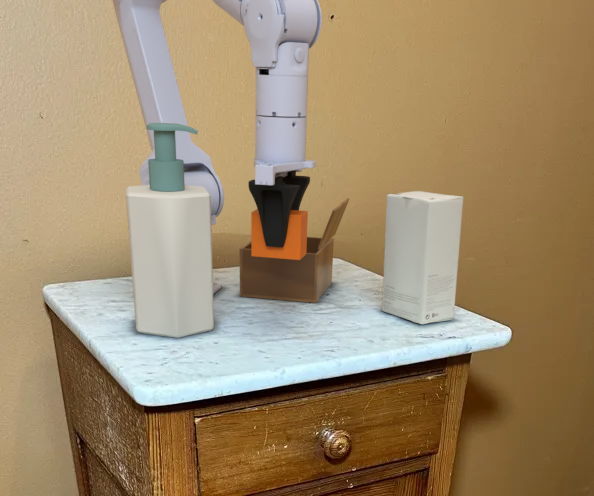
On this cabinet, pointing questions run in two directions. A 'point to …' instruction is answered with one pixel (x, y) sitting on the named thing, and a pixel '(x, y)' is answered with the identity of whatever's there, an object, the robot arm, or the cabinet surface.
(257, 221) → the block
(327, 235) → the flap
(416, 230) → the cosmetic box
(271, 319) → the cabinet surface
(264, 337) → the cabinet surface
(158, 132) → the soap bottle
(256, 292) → the carton
